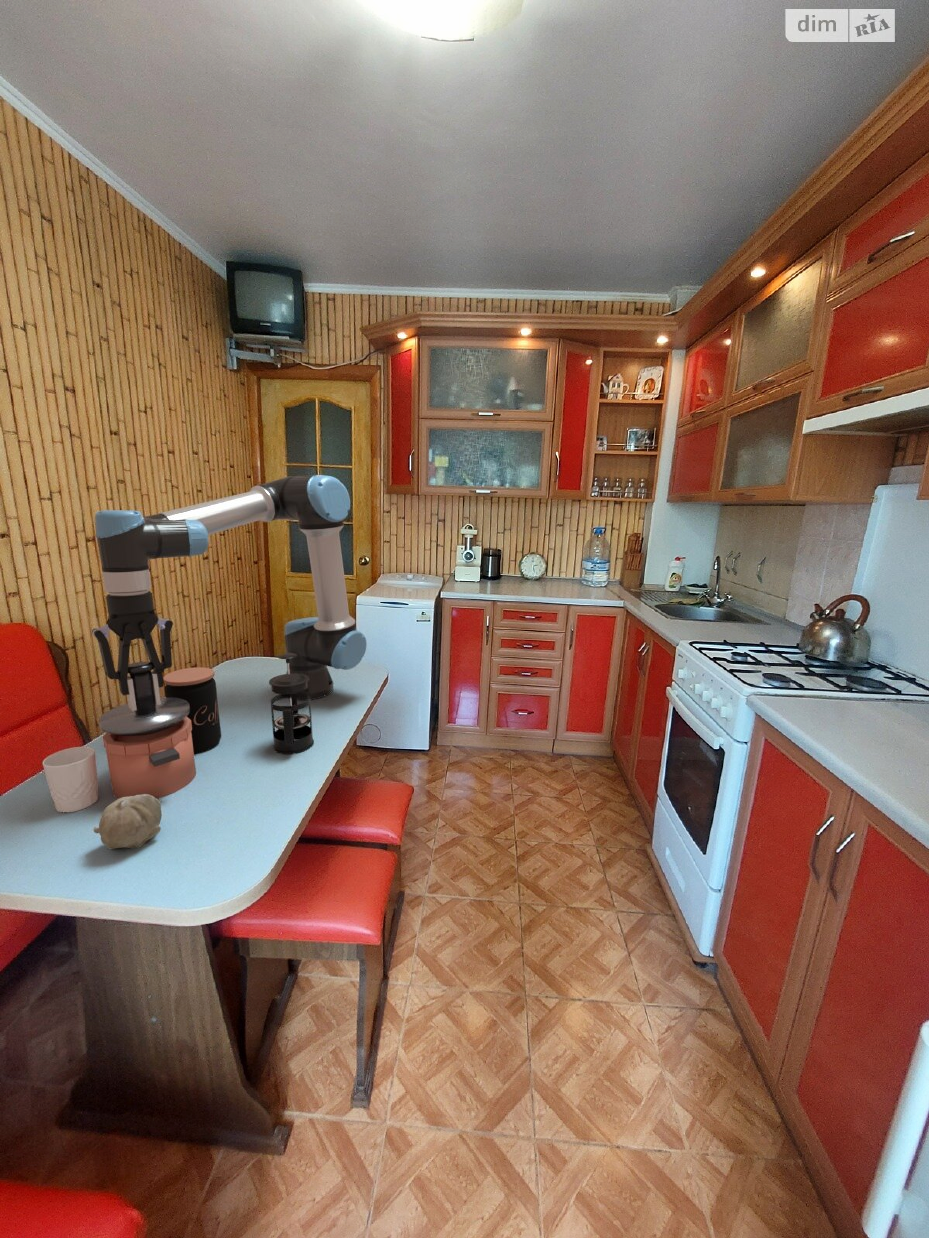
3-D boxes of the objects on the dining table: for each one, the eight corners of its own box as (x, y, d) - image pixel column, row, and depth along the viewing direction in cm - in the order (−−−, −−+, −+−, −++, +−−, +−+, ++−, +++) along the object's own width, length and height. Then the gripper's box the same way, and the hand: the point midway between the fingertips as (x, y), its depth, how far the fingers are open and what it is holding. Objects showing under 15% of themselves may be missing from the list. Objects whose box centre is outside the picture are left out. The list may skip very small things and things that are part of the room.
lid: (176, 703, 113) (169, 649, 110) (202, 724, 103) (195, 665, 100) (92, 724, 102) (82, 664, 99) (111, 750, 92) (101, 684, 89)
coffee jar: (201, 757, 115) (192, 684, 111) (161, 752, 117) (151, 680, 113) (231, 737, 125) (224, 668, 121) (194, 732, 127) (186, 665, 123)
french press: (277, 736, 126) (270, 649, 121) (316, 733, 128) (310, 647, 122) (268, 759, 115) (260, 664, 109) (311, 756, 116) (305, 662, 111)
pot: (101, 775, 107) (92, 723, 104) (177, 751, 118) (171, 703, 115) (128, 818, 93) (118, 759, 90) (212, 786, 104) (206, 733, 101)
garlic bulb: (163, 842, 90) (179, 791, 90) (134, 868, 82) (151, 812, 81) (112, 827, 90) (128, 775, 89) (77, 851, 81) (94, 794, 81)
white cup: (74, 790, 101) (65, 745, 99) (112, 792, 101) (104, 746, 99) (40, 814, 94) (30, 766, 91) (81, 815, 94) (72, 767, 91)
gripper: (170, 585, 105) (183, 690, 110) (71, 594, 93) (90, 712, 98) (182, 589, 100) (195, 699, 105) (79, 600, 88) (99, 723, 93)
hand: (144, 705), depth 101 cm, fingers closed on lid, 4 cm apart
